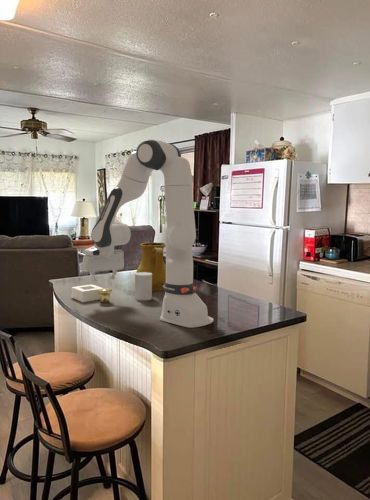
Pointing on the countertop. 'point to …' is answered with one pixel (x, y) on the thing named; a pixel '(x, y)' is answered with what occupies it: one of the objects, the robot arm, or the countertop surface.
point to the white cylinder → (143, 286)
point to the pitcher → (153, 263)
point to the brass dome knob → (104, 295)
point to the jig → (86, 293)
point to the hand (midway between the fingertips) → (103, 280)
